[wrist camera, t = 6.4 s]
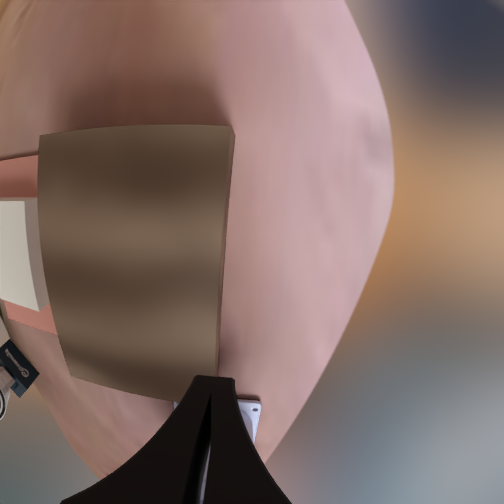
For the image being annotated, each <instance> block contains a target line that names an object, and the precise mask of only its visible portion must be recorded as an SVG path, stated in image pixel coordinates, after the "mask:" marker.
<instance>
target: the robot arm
mask: <svg viewBox="0 0 504 504" xmlns="http://www.w3.org/2000/svg"><path fill="white" fill-rule="evenodd" d="M173 402H174V401H173ZM254 408H256V409H254ZM260 411H261V402H260V401H257V400H241V399H237V396H236V391H235V380H234V379H233V378H226V377H215V376H205V375H196V376H195V377H194V378H193V381H192V383H191V384H190V386H189V388H188V390H187V391H186V393H185V395H184V396H183V398H182V399H181V401H180V402H174V411H173V412H172V414H171V415H170V417H169V418H168V419H167V420H166V422H165V423H164V424H163V425H162V426H161V428H160V429H159V430H158V431H157V432H156V434H155V435H154V436H153V437H152V438H151V439H150V440H149V441H148V442H147V443H146V444H145V445H144V446H143V447H142V448H141V449H140V450H139V451H138V452H137V453H136V454H135V455H134V456H133V457H131V458H130V459H129V460H128V461H127V462H125V463H124V464H123V465H122V466H121V467H119V468H118V469H117V470H115V471H114V472H113V473H111V474H110V475H108V476H107V477H105V478H103V479H102V480H100V481H99V482H97V483H96V484H94V485H92V486H91V487H89V488H87V489H85V490H83V491H81V492H79V493H77V494H75V495H73V496H71V497H69V498H66V499H64V500H62V502H61V503H60V504H292V503H291V502H290V501H289V499H288V498H287V497H286V495H285V494H284V493H283V492H282V490H281V489H280V488H279V486H278V485H277V484H276V482H275V481H274V479H273V478H272V476H271V475H270V473H269V472H268V470H267V469H266V467H265V465H264V463H263V462H262V460H261V458H260V456H259V454H258V453H257V451H256V449H255V447H254V440H255V436H256V431H257V426H258V421H259V416H260Z"/></svg>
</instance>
